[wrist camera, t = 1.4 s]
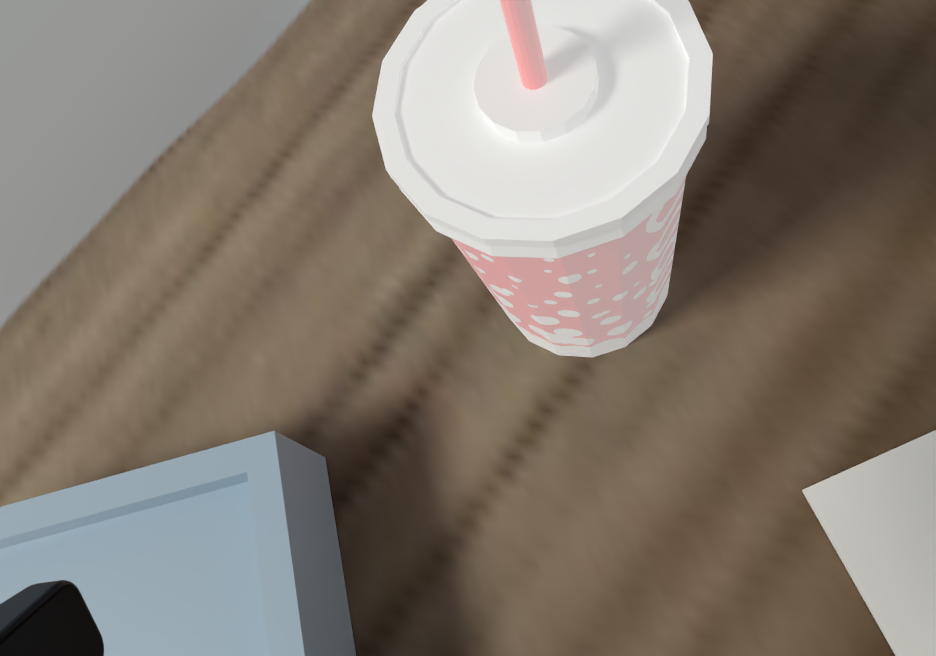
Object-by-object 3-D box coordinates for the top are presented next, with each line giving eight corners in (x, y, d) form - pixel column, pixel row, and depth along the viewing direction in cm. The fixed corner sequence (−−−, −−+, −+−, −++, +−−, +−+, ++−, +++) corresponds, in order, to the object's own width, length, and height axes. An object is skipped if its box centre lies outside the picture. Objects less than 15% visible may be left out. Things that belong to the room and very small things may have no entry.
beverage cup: (601, 432, 22) (505, 152, 9) (429, 298, 25) (163, -75, 12) (747, 253, 23) (843, -234, 10) (567, 140, 25) (458, -376, 12)
